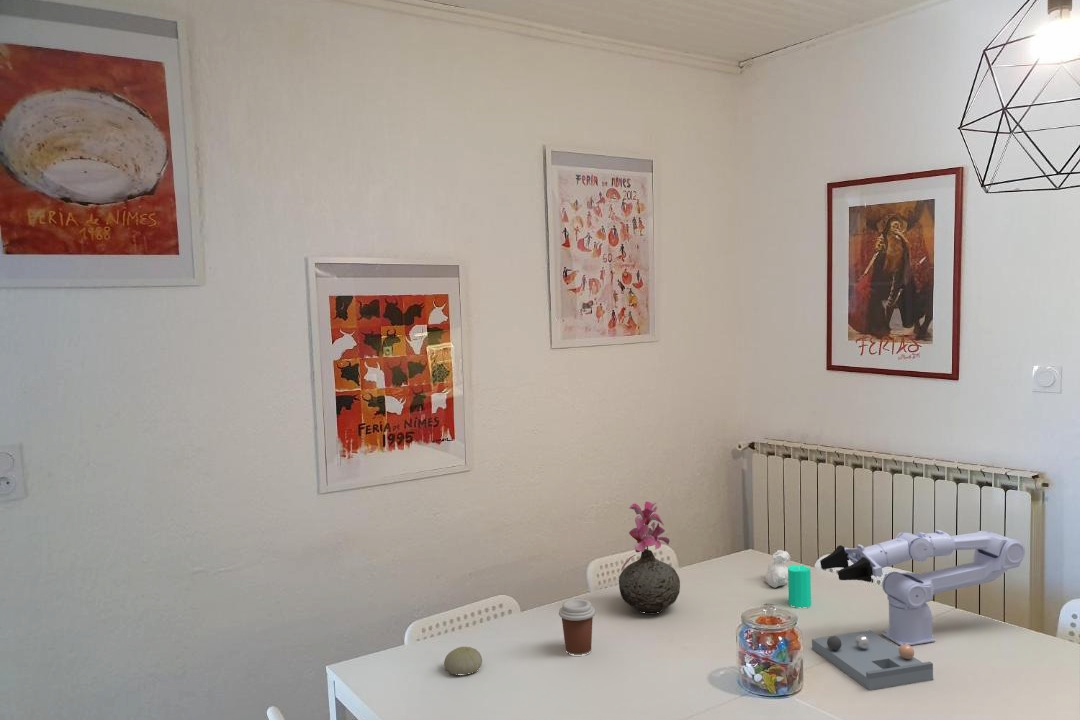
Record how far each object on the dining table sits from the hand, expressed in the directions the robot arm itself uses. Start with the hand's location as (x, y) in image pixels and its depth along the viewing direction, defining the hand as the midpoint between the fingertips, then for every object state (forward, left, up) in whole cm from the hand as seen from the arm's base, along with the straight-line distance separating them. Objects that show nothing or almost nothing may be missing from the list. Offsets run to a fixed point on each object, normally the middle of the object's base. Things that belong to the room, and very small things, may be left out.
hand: (830, 570), depth 188 cm
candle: (-8, -27, -20) cm, 35 cm away
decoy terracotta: (-9, +15, -15) cm, 23 cm away
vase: (+33, -37, -20) cm, 54 cm away
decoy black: (+3, +6, -15) cm, 17 cm away
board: (-3, +10, -19) cm, 22 cm away
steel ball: (-3, +7, -15) cm, 17 cm away
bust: (-11, -44, -20) cm, 50 cm away
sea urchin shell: (+88, -17, -20) cm, 92 cm away
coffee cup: (+59, -18, -20) cm, 65 cm away
